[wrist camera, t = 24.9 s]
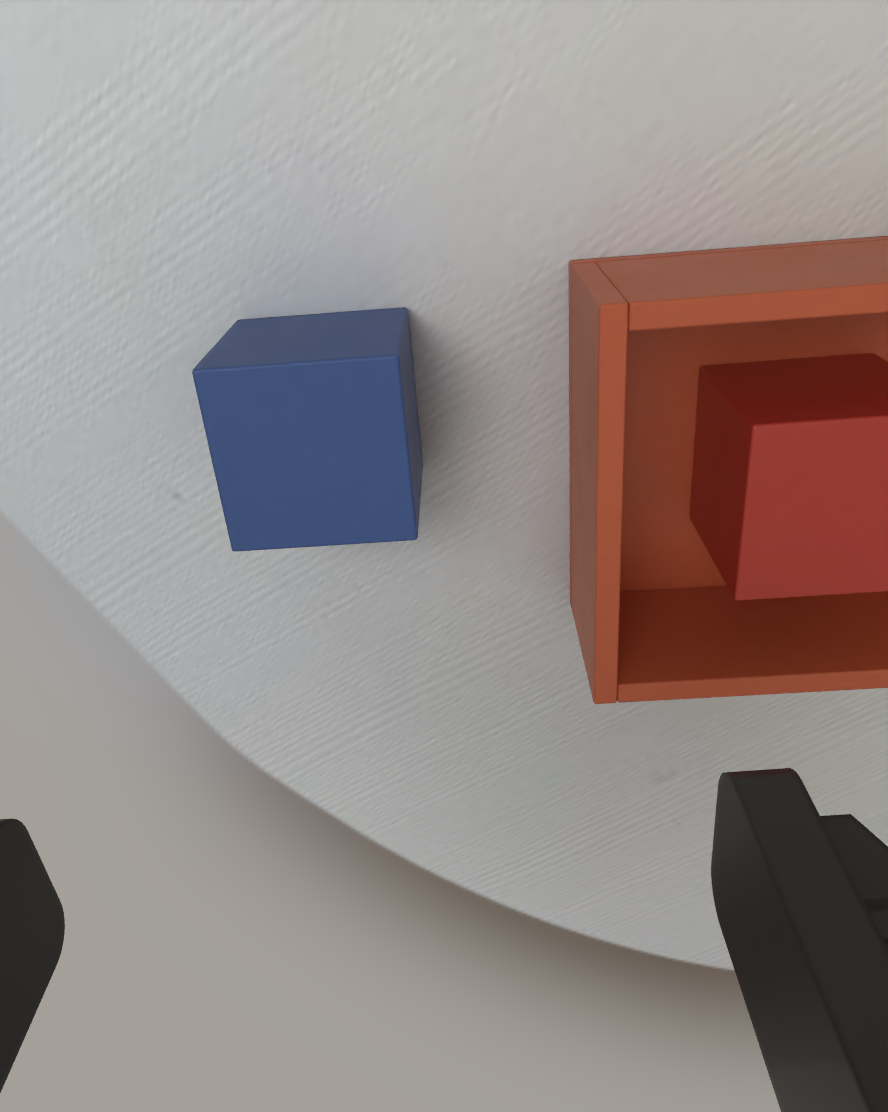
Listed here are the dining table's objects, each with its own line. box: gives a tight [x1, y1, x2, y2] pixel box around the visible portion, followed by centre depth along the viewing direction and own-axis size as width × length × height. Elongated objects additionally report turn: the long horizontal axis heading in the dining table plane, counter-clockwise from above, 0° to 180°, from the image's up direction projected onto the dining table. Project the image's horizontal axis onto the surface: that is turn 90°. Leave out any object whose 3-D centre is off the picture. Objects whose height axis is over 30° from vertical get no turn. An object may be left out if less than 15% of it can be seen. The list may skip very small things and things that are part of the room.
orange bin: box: [569, 236, 888, 704], centre depth 21 cm, size 11×10×5 cm
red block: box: [689, 353, 888, 601], centre depth 21 cm, size 4×4×4 cm
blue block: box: [192, 307, 423, 551], centre depth 21 cm, size 4×4×4 cm
